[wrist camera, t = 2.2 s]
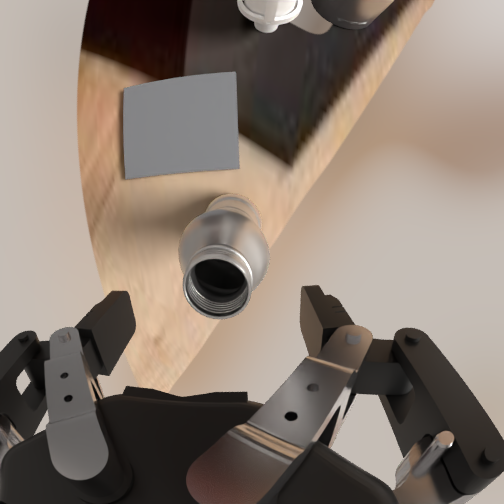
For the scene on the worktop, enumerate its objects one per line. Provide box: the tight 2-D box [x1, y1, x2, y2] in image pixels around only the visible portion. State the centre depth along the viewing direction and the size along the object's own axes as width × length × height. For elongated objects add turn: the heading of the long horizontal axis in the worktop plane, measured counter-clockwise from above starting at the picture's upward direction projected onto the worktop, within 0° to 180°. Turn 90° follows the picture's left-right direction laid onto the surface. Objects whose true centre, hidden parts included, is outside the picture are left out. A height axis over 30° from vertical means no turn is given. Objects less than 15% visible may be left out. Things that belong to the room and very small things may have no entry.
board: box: [123, 72, 240, 179], centre depth 29 cm, size 12×14×1 cm
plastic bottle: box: [178, 194, 270, 319], centre depth 24 cm, size 6×7×20 cm
